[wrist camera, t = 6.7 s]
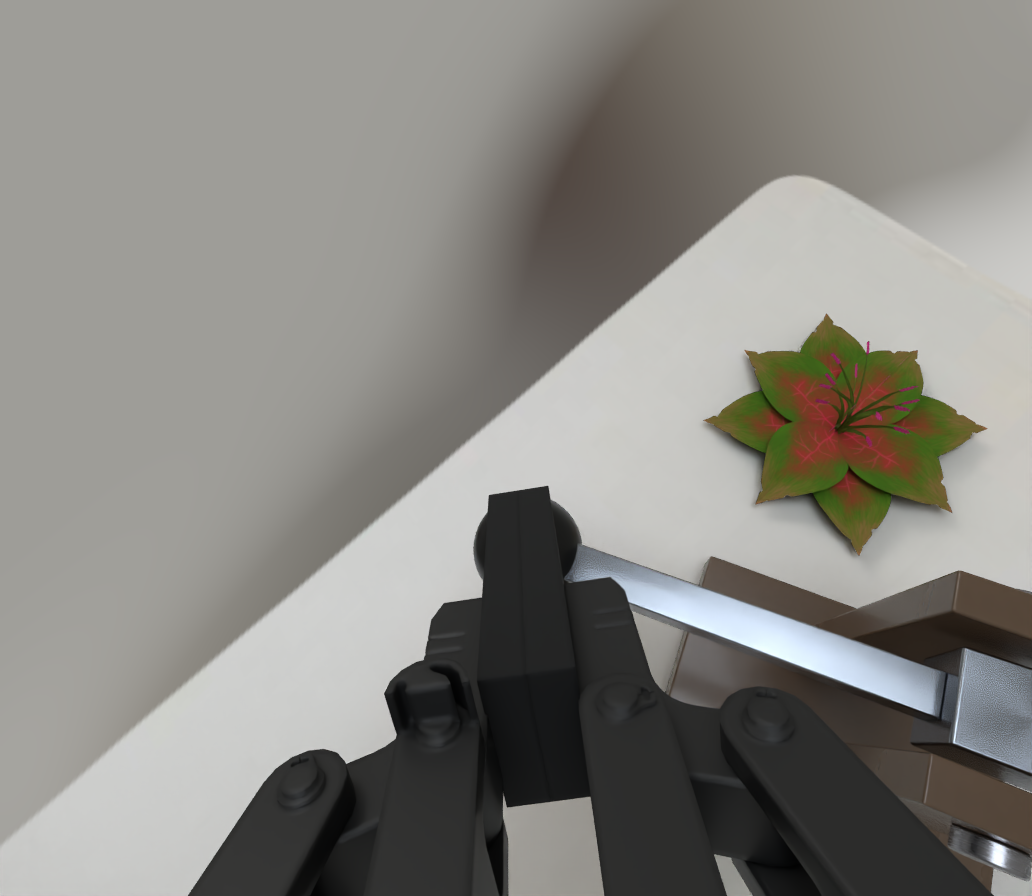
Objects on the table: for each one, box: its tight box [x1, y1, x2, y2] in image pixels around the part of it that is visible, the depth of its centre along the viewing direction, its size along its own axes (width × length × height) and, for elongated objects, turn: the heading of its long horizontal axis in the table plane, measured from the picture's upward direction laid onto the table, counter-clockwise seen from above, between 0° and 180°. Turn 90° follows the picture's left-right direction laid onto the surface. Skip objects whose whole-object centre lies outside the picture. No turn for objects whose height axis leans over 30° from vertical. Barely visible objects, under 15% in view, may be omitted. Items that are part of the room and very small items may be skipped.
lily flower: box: [703, 313, 987, 555], centre depth 28 cm, size 12×12×5 cm
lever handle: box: [473, 500, 1032, 792], centre depth 16 cm, size 15×3×3 cm, turn 67°
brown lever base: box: [666, 557, 1032, 892], centre depth 19 cm, size 12×9×14 cm
